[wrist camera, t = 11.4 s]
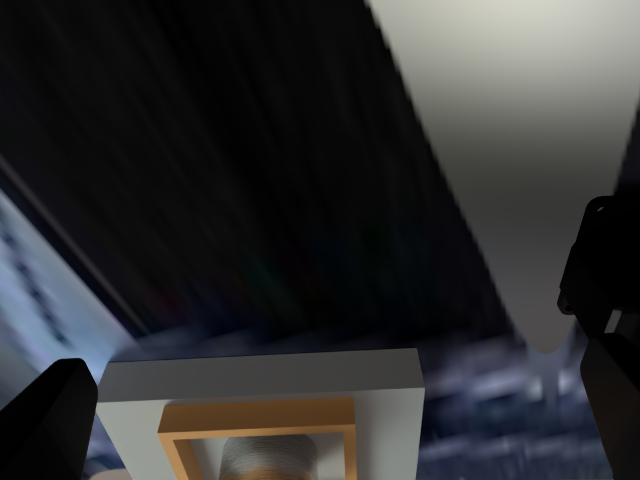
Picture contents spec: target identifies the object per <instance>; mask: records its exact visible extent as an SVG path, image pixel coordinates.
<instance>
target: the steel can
mask: <svg viewBox="0 0 640 480" xmlns="http://www.w3.org/2000/svg"><path fill="white" fill-rule="evenodd" d="M218 480H318V451H317V447H316V445H315V443H314V442H313V441H312V440H311V439H310V438H309V437H308V436H306V435H305V434H290V435H267V436H245V437H230V438H229V439H228V440H227V441H226V443H225V444H224V447H223V451H222V458H221V465H220V472H219V479H218Z"/></svg>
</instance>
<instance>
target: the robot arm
mask: <svg viewBox="0 0 640 480" xmlns="http://www.w3.org/2000/svg"><path fill="white" fill-rule="evenodd" d="M600 207H604V208H603V209H602V210H600V211H597V210H598V209H599V208H600ZM560 289H561V291H560V295H559V298H558V301H557V306H558V307H559V309H560V311H561V312H562V313H563V314H565V315H575V316H576V318H577V319H578V321H579V323H580V325H581V327H582V328H583V330H584V332H585V334H586V335H587V337H588V339H589V343H588V346H587V348H586V351H585V353H584V356H583V359H582V361H581V365H580V373H581V378H582V381H583V384H584V387H585V390H586V394H587V397H588V400H589V403H590V406H591V410H592V413H593V416H594V419H595V422H596V426H597V429H598V432H599V435H600V438H601V442H602V445H603V448H604V451H605V454H606V457H607V459H608V462H609V464H610V467H611V469H612V472H613V477H614V480H640V194H633V195H615V196H600V197H596V198H594V199H593V200H591V201H590V202H589V203H588V205H587V207H586V210H585V213H584V216H583V220H582V223H581V226H580V229H579V232H578V236H577V239H576V242H575V243H574V244H573V246H572V247H571V250H570V254H569V257H568V260H567V263H566V267H565V270H564V274H563V277H562V280H561V283H560ZM97 401H98V388H97V385H96V383H95V381H94V379H93V377H92V375H91V373H90V371H89V369H88V367H87V365H86V363H85V361H84V360H82V359H81V358H68V359H59V360H57V361H55V362H54V363H53V364H52V365H51V366H49V367H48V368H47V369H46V370H45V371H44V372H43V373H42V374H41V375H39V376H38V377H37V378H36V379H35V380H34V381H33V382H32V383H31V384H29V385H28V386H27V387H26V388H25V389H24V390H23V391H22V392H21V393H19V394H18V395H17V396H16V397H15V398H14V399H13V400H12V401H11V402H10V403H8V404H7V405H6V406H5V407H4V408H3V409H2V410H1V411H0V480H81V478H82V474H83V470H84V465H85V460H86V455H87V450H88V446H89V441H90V436H91V431H92V426H93V421H94V416H95V411H96V406H97Z"/></svg>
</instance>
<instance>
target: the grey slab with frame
mask: <svg viewBox="0 0 640 480" xmlns="http://www.w3.org/2000/svg"><path fill="white" fill-rule="evenodd" d="M424 394H425V384H424V380H423V375H422V370H421V366H420V361H419V356H418V351H417V348H404V349H383V350H363V351H342V352H321V353H301V354H280V355H260V356H239V357H218V358H198V359H177V360H156V361H136V362H115V363H107V365H106V368H105V370H104V373H103V375H102V378H101V380H100V383H99V385H98V401H97V406H96V412H97V414H98V416H99V418H100V420H101V422H102V424H103V425H104V427H105V429H106V431H107V433H108V435H109V437H110V439H111V440H112V442H113V444H114V446H115V448H116V450H117V452H118V453H119V455H120V457H121V459H122V461H123V463H124V465H125V466H126V468H127V470H128V472H129V474H130V476H131V478H132V479H133V480H218V479H219V472H220V465H221V458H222V451H223V447H224V444H225V443H226V441H227V440H228V439H229V438H230V437H245V436H267V435H290V434H305V435H306V436H308V437H309V438H310V439H311V440H312V441H313V442H314V443H315V445H316V447H317V451H318V480H415V478H416V469H417V460H418V450H419V441H420V431H421V422H422V413H423V403H424Z"/></svg>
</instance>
